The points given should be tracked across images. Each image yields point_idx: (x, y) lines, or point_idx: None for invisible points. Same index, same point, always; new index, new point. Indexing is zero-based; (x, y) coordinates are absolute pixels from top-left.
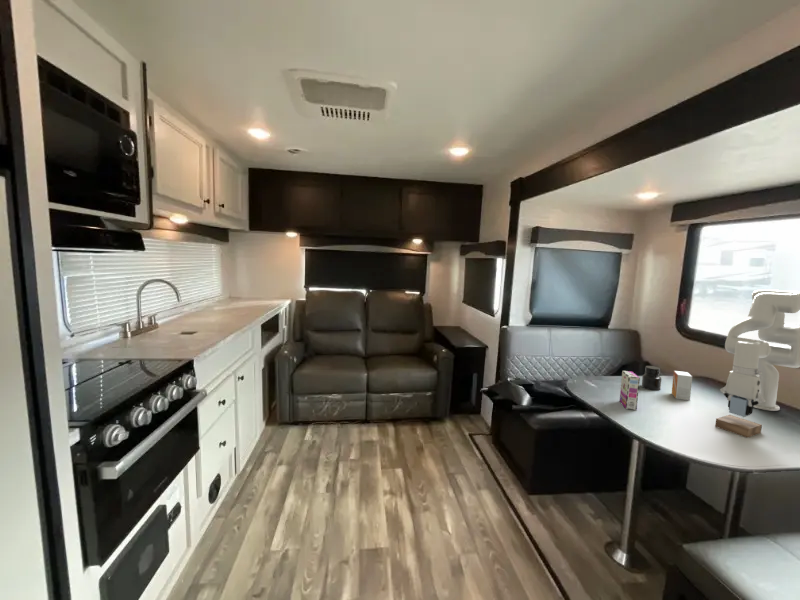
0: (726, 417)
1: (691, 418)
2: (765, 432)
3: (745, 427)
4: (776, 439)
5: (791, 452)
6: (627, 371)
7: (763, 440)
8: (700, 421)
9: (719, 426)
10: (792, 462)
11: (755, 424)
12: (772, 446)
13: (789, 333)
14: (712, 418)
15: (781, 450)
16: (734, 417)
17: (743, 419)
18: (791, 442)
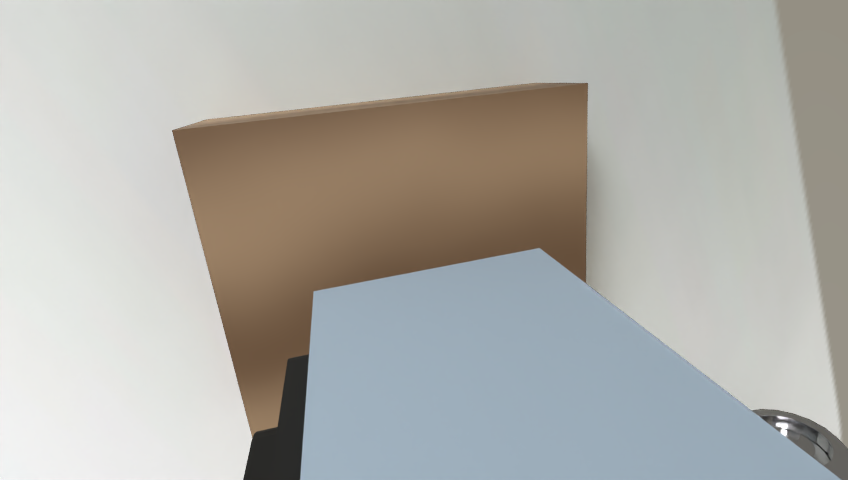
0: (264, 315)
1: (27, 468)
2: (548, 6)
3: None
4: (673, 109)
5: (807, 283)
6: None
7: (627, 267)
8: (126, 443)
9: None
10: (837, 435)
11: (547, 168)
12: (705, 317)
13: None
14: (53, 213)
15: (760, 323)
16: (291, 194)
17: (383, 136)
18: (766, 34)
